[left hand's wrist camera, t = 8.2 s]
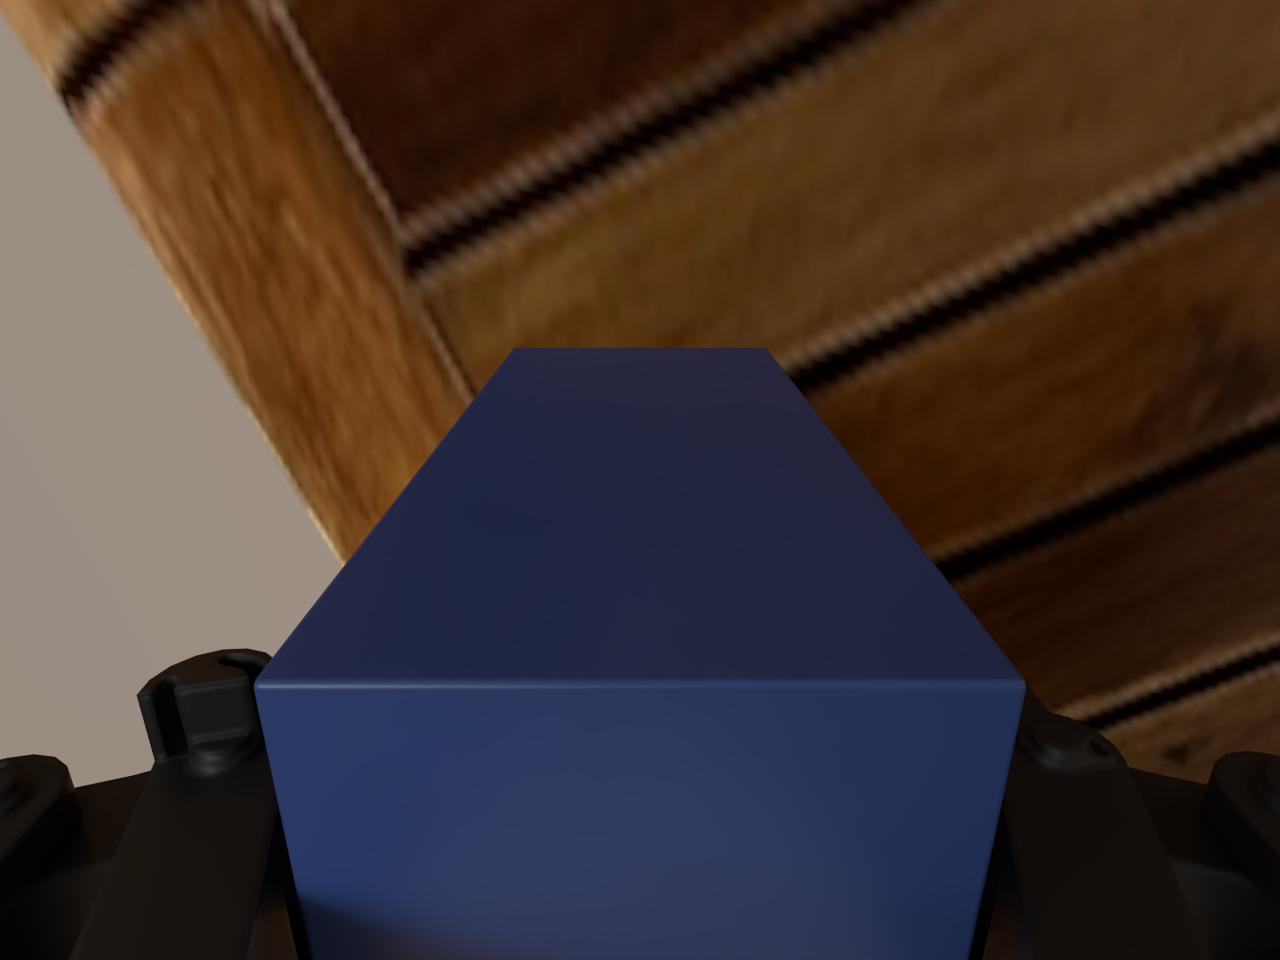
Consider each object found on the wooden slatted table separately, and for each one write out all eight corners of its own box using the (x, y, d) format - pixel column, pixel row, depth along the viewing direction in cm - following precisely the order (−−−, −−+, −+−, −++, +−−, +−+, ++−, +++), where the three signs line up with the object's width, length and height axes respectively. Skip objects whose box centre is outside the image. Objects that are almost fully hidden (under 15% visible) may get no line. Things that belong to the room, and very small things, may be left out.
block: (527, 597, 19) (361, 1206, 8) (512, 347, 17) (248, 682, 5) (752, 597, 19) (918, 1207, 8) (767, 347, 17) (1031, 682, 5)
